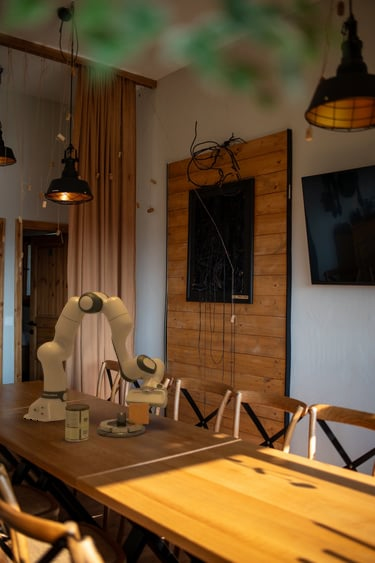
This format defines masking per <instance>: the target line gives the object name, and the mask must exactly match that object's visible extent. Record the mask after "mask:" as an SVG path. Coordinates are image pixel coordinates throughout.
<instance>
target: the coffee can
mask: <svg viewBox="0 0 375 563" xmlns="http://www.w3.org/2000/svg"><path fill="white" fill-rule="evenodd" d="M65 409H66V417H65V419H64V421H65V425H64V427H65V429H64V430H65V434H64V435H65V436H64V437H65V438H64V440H65V441H67V442H71V443H72V442H74V443H75V442H76V443H78V442H85V441H87V440H90V437H89V436H90V434H89V433H90V432H89V431H90V405H89V404H86V403H85V404H84V403H74V404H69V405H68V404H67V406H66V407H65Z"/></svg>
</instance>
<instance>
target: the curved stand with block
mask: <svg viewBox="0 0 375 563" xmlns="http://www.w3.org/2000/svg"><path fill="white" fill-rule="evenodd" d="M149 411H150V409H149V403H129V405H128V418H126V424H130V425H132V426H128V427H113V426H110V425H114V424H117V418H115V419H114V418H113V419H107V420H102V421H100V424H99V426H100V430H103V431H107V432H112V433H127V432H133V431H137V430H141V429H142V425H149V422H150V421H149V420H150V415H149V414H150V412H149Z"/></svg>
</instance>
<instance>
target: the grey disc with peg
mask: <svg viewBox="0 0 375 563" xmlns="http://www.w3.org/2000/svg"><path fill="white" fill-rule="evenodd" d="M116 419H117V424H114V425H110V426H113V427H128V426H132V425H130V424H126V419H127V412H126V411H118V412H116ZM96 433H97V435H99V436H102V437H107V438H114V439H117V438H119V439H122V438H124V439H125V438H134V437H137V436H138V437H139V436H141V435H144V434H145V433H146V427H145V426H144V424H142V429H141V430H137V431H133V432H127V433H112V432H107V431H103V430H100V425H99V426H98V427H97V429H96Z"/></svg>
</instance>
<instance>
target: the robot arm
mask: <svg viewBox="0 0 375 563" xmlns="http://www.w3.org/2000/svg"><path fill="white" fill-rule="evenodd" d="M86 314H87V315H88V314H89V315H97V314H103V315H104V316H105V318H106V320H107V322H108V324H109V327H110V333H111V336H110V337H111V338H110V339H111V344H112V348H113V350H114V353H115V357H116V360H117V362H118V367H119V374H120V377H121V378H122V379H123V380H124V381H125V382H127V383H130V384H131V383H134V382H136V381H137V380H138V379H139V378H142V383H141V386H140V387H131V388H130V389H128V392H127V395H126V396H125V399H124V402H125V403H126V405H127V406H129V403H149V410H150V409H151V408H160V409H165V408H166V407H167V404H168V399H169V398H168V389H167V387H166V386H165V385H164V384H161V382H162V380H163V379H164V374H165V370H166V367H165V363H164V361H162V359H160V358H157V357H155V358H151V357H150V356H148V355H146V354H140V355H137V356H136V357H134V358H132V359H131V358H130V355H129V352H128V349H127V345H126V342H127V338H128V336H129V335H130V333H131V331H132V330H133V325H134V324H133V319H132V317H131V314H130V313H129V311H128V309H127V307H126V305H125V303H124V302H123V300H122V299H121V298H120V297H119V296H108V294H106V293H104V292H100V291H91V292H90V291H88V292H84V293H82V294H81V295H80V296H72V297H70V298H69V299H68V301H67V302H66V304H65V306H64V307H63V309H62V312H61V313H60V315H59V317H58V320H57V322H56V324H55V327H54V330H55V333H54V338H53V340H52V341H48V342H44V343H43V344H42V345H40V346H39V347H38V348H37V350H36V351H37V352H36V355H37V356H36V357H37V359H38V361H39V362H40V363H41V366H42V372H43V390H41V391H39V393H38V395H40V397H38V399H36V400H35V401H34V402H32V403H31V405H30V406H29V408H28V413H26V414H24V415H23V419H24V418H26V420H30V419H32V421H37V420H38V421H39V422H45V423H46V422H53V421H65V417H66V409H65V407H66V406H67V405H68V404H67V401H68V390H67V373H66V371H65V369H64V366H63V362H64V361H67V360H68V359H69V358H71V356H73V353H74V343H75V342H74V341H75V338H76V336H77V332H78V330H79V328H80V326H81V324H82V321H83V319H84V317H85V315H86Z"/></svg>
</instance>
